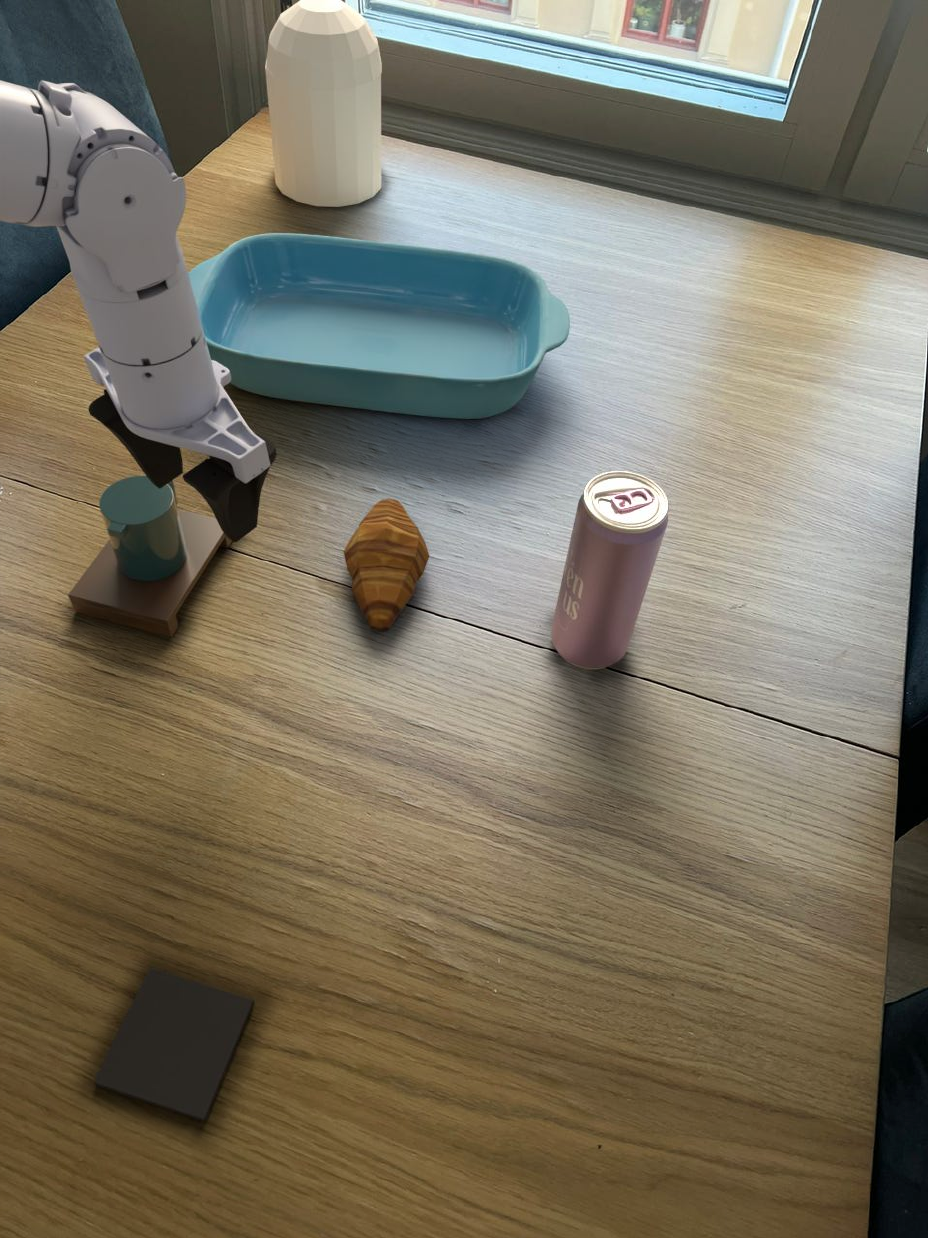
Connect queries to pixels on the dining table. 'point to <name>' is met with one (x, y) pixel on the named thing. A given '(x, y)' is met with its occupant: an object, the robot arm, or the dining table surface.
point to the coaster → (175, 1044)
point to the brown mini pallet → (148, 582)
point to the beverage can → (608, 567)
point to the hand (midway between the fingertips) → (204, 504)
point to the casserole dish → (377, 324)
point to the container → (325, 104)
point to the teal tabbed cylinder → (144, 528)
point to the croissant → (385, 562)
